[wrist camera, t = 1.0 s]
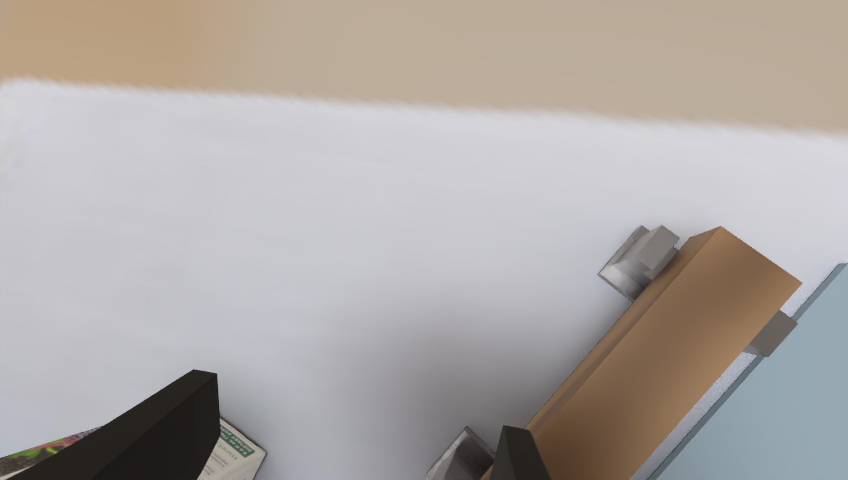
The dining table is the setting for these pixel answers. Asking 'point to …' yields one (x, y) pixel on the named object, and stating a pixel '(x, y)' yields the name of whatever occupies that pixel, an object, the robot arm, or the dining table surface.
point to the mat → (781, 406)
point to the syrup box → (221, 476)
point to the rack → (631, 275)
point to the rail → (659, 358)
